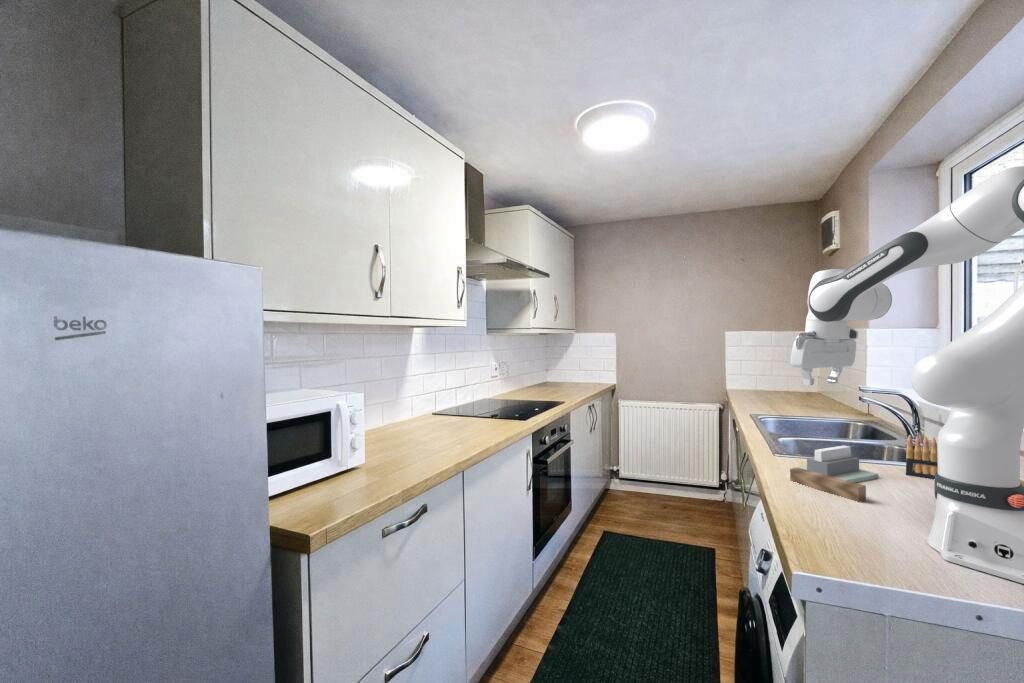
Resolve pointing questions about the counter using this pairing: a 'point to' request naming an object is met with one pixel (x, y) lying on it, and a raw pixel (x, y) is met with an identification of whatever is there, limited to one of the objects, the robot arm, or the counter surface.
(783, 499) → the counter surface
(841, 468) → the ridge stand
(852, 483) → the walnut batten
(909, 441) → the ammunition clip
